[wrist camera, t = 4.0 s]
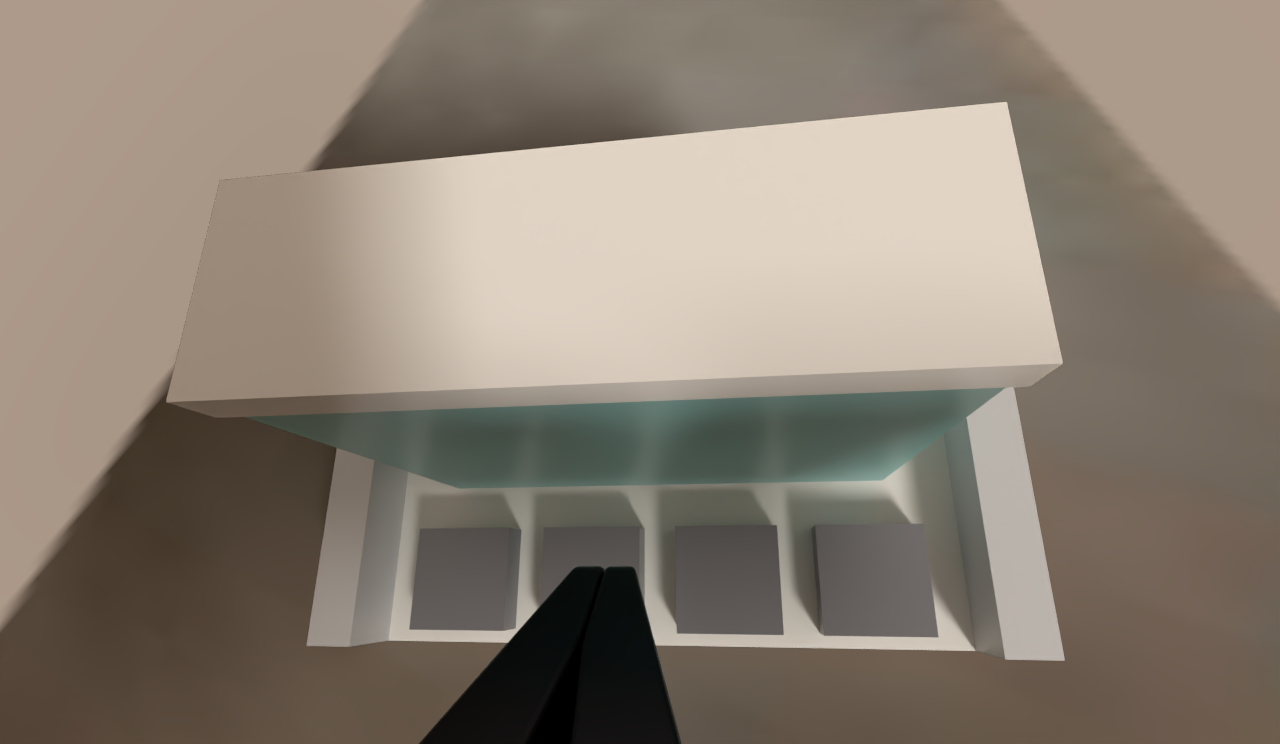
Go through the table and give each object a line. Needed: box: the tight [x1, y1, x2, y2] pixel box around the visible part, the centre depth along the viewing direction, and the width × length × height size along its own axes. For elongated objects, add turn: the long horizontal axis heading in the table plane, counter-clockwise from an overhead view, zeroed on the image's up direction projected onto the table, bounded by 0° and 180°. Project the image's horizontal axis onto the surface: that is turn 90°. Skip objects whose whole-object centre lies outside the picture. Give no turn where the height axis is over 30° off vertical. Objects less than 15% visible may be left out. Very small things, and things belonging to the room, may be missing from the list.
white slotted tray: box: [307, 387, 1065, 661], centre depth 16 cm, size 11×15×3 cm
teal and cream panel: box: [166, 102, 1063, 489], centre depth 12 cm, size 3×10×8 cm, turn 90°
